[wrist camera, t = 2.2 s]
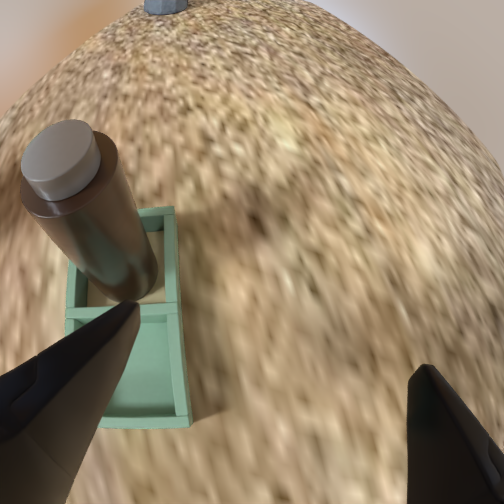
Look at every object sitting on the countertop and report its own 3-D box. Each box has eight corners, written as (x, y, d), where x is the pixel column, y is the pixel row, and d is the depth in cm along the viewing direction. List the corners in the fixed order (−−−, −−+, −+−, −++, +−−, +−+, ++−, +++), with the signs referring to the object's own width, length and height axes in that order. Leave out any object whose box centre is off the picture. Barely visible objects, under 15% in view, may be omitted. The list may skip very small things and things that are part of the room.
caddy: (193, 423, 20) (190, 427, 17) (85, 423, 19) (69, 425, 16) (177, 224, 26) (174, 205, 24) (85, 232, 25) (74, 215, 22)
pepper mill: (107, 313, 22) (6, 218, 9) (89, 256, 24) (8, 137, 11) (168, 287, 23) (122, 164, 11) (145, 232, 25) (101, 94, 12)
